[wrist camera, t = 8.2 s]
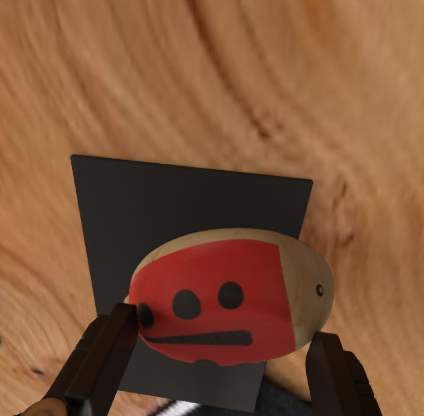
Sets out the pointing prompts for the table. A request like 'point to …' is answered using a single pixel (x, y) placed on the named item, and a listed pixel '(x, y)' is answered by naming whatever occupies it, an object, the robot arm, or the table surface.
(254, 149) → the table surface
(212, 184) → the desk pad
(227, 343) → the ladybug figurine
